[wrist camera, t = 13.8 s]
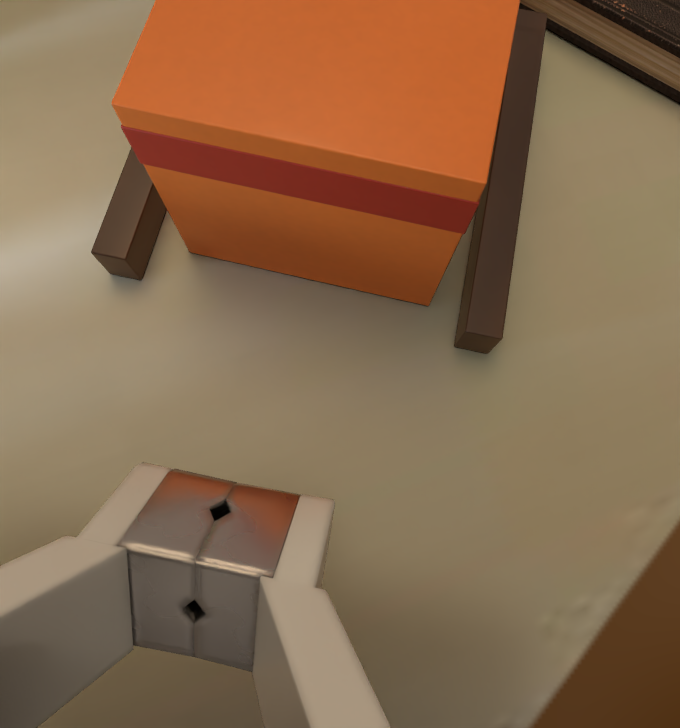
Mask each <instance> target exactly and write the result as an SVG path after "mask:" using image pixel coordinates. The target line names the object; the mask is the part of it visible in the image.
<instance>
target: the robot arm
mask: <svg viewBox="0 0 680 728" xmlns="http://www.w3.org/2000/svg"><path fill="white" fill-rule="evenodd" d="M334 506H335V502H334V500H333V499H327V498H321V497H316V496H310V495H304V494H302V495H300V494H295V493H290V492H285V491H279V490H274V489H269V488H264V487H258V486H253V485H248V484H242V483H237V482H233V481H228V480H224V479H219V478H215V477H210V476H206V475H201V474H197V473H192V472H188V471H183V470H179V469H171V468H167V467H162V466H158V465H153V464H149V463H144V462H142V463H140V464H138V465H136V466H135V467H133V469H132V470H131V471H130V472H129V473H128V475H127V476H126V477H125V478H124V480H123V481H122V482H121V483H120V484H119V486H118V487H117V488H116V489H115V491H114V492H113V493H112V494H111V495H110V497H109V498H108V499H107V500H106V502H105V503H104V504H103V505H102V506H101V508H100V509H99V510H98V511H97V512H96V514H95V515H94V516H93V517H92V519H91V520H90V521H89V522H88V523H87V525H86V526H85V527H84V528H83V530H82V531H81V532H80V533H79V534H78V536H77V537H72V536H66V535H65V536H63V537H61V538H59V539H57V540H55V541H52V542H50V543H48V544H46V545H44V546H42V547H39V548H37V549H35V550H33V551H31V552H29V553H26V554H24V555H22V556H20V557H18V558H16V559H13V560H11V561H9V562H7V563H5V564H3V565H0V728H37V727H38V726H39V725H40V724H42V723H43V722H44V721H45V720H47V719H48V718H49V717H50V716H51V715H53V714H54V713H55V712H56V711H58V710H59V709H60V708H61V707H63V706H64V705H65V704H66V703H68V702H69V701H70V700H71V699H73V698H74V697H75V696H76V695H78V694H79V693H80V692H81V691H82V690H84V689H85V688H86V687H87V686H89V685H90V684H91V683H92V682H94V681H95V680H96V679H97V678H99V677H100V676H101V675H102V674H104V673H105V672H106V671H107V670H109V669H110V668H111V667H112V666H113V665H115V664H116V663H117V662H118V661H120V660H121V659H122V658H123V657H125V656H126V655H127V654H128V653H130V652H131V651H132V650H133V645H134V646H140V647H145V648H150V649H155V650H161V651H166V652H171V653H176V654H181V655H187V656H192V657H196V658H200V659H204V660H208V661H212V662H216V663H220V664H224V665H228V666H232V667H235V668H239V669H243V670H247V671H251V672H253V674H252V676H253V680H254V684H255V689H256V693H257V697H258V702H259V706H260V710H261V715H262V719H263V723H264V728H391V727H390V725H389V722H388V720H387V718H386V716H385V714H384V712H383V710H382V708H381V705H380V703H379V701H378V699H377V697H376V695H375V693H374V691H373V688H372V686H371V684H370V682H369V680H368V678H367V676H366V674H365V671H364V669H363V667H362V665H361V663H360V661H359V659H358V657H357V654H356V652H355V650H354V648H353V646H352V644H351V642H350V640H349V637H348V635H347V633H346V631H345V629H344V627H343V625H342V623H341V620H340V618H339V616H338V614H337V612H336V610H335V608H334V606H333V603H332V601H331V599H330V597H329V595H328V593H327V591H326V590H324V589H321V586H322V580H323V574H324V568H325V563H326V557H327V550H328V544H329V538H330V532H331V526H332V520H333V513H334Z"/></svg>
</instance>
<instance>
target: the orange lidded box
mask: <svg viewBox="0 0 680 728" xmlns="http://www.w3.org/2000/svg"><path fill="white" fill-rule="evenodd" d="M519 4H520V0H156V1H155V3H154V6H153V8H152V10H151V13H150V15H149V17H148V20H147V22H146V24H145V27H144V29H143V31H142V33H141V36H140V38H139V40H138V43H137V45H136V47H135V50H134V52H133V54H132V57H131V59H130V61H129V63H128V66H127V68H126V70H125V73H124V75H123V77H122V80H121V82H120V84H119V87H118V89H117V91H116V94H115V96H114V98H113V100H112V106H113V108H114V110H115V112H116V114H117V116H118V117H119V119H120V121H121V123H122V125H121V128H122V130H123V132H124V134H125V136H126V138H127V139H128V141H129V143H130V145H131V147H132V149H133V151H134V152H135V154H136V156H137V158H138V160H139V162H140V163H141V164H143V165H144V167H145V169H146V170H147V172H148V174H149V176H150V178H151V180H152V182H153V184H154V186H155V187H156V189H157V191H158V193H159V195H160V197H161V199H162V201H163V203H164V205H165V206H166V208H167V210H168V212H169V214H170V216H171V218H172V220H173V222H174V223H175V225H176V227H177V229H178V231H179V233H180V235H181V237H182V239H183V240H184V242H185V244H186V246H187V248H188V250H189V252H191V253H196V254H200V255H204V256H209V257H213V258H218V259H222V260H227V261H231V262H236V263H240V264H244V265H249V266H253V267H258V268H262V269H267V270H271V271H275V272H280V273H284V274H289V275H293V276H298V277H302V278H306V279H311V280H315V281H320V282H324V283H329V284H333V285H338V286H342V287H346V288H351V289H355V290H360V291H364V292H369V293H373V294H377V295H382V296H386V297H391V298H395V299H400V300H404V301H409V302H413V303H417V304H422V305H426V306H429V304H430V302H431V300H432V298H433V296H434V294H435V292H436V289H437V287H438V285H439V283H440V281H441V279H442V277H443V275H444V273H445V270H446V268H447V266H448V264H449V262H450V260H451V258H452V256H453V254H454V251H455V249H456V247H457V245H458V243H459V241H460V239H461V237H462V235H463V234H465V233H466V230H467V228H468V226H469V224H470V222H471V220H472V218H473V216H474V214H475V212H476V210H477V208H478V205H479V203H480V198H481V194H482V192H483V190H484V188H485V186H486V184H487V179H488V173H489V168H490V162H491V157H492V152H493V146H494V141H495V135H496V130H497V124H498V119H499V113H500V108H501V103H502V97H503V92H504V86H505V81H506V75H507V70H508V64H509V59H510V53H511V48H512V43H513V37H514V32H515V26H516V21H517V15H518V10H519Z"/></svg>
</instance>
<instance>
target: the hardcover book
mask: <svg viewBox="0 0 680 728" xmlns="http://www.w3.org/2000/svg"><path fill="white" fill-rule="evenodd" d="M519 9H524V10H529V11H535V12H540V13H545V14H547V22H546V28H547V29H549V30H551V31H553V32H554V33H556V34H558V35H560V36H561V37H563V38H565V39H567V40H569V41H570V42H572V43H574V44H576V45H578V46H579V47H581V48H583V49H585V50H586V51H588V52H590V53H592V54H594V55H595V56H597V57H599V58H601V59H602V60H604V61H606V62H608V63H610V64H611V65H613V66H615V67H617V68H619V69H620V70H622V71H624V72H626V73H627V74H629V75H631V76H633V77H635V78H636V79H638V80H640V81H642V82H644V83H645V84H647V85H649V86H651V87H652V88H654V89H656V90H658V91H660V92H661V93H663V94H665V95H667V96H668V97H670V98H672V99H674V100H676V101H677V102H679V103H680V0H520V4H519Z"/></svg>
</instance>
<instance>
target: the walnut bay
mask: <svg viewBox="0 0 680 728" xmlns="http://www.w3.org/2000/svg"><path fill="white" fill-rule="evenodd" d="M546 22H547V14H545V13H540V12H535V11H529V10H524V9H519V10H518V15H517V21H516V26H515V32H514V37H513V43H512V48H511V53H510V59H509V64H508V70H507V75H506V81H505V86H504V92H503V97H502V103H501V108H500V113H499V119H498V124H497V130H496V135H495V141H494V146H493V152H492V157H491V162H490V168H489V173H488V179H487V184H486V186H485V188H484V190H483V192H482V194H481V198H480V203H479V205H478V208H477V211H476V217H475V223H474V229H473V236H472V242H471V248H470V254H469V260H468V266H467V272H466V278H465V284H464V290H463V296H462V302H461V308H460V314H459V320H458V326H457V332H456V338H455V344H454V346H455V347H459V348H463V349H468V350H473V351H477V352H482V353H489V352H490V351H491V350H492V349H493V348H494V347H495V346H496V345H497V344H498V343H499V342H500V341H501V340H502V337H503V330H504V323H505V316H506V309H507V301H508V294H509V287H510V280H511V273H512V266H513V258H514V251H515V244H516V237H517V230H518V223H519V216H520V208H521V201H522V194H523V187H524V180H525V173H526V165H527V158H528V151H529V144H530V137H531V130H532V123H533V115H534V108H535V101H536V94H537V87H538V80H539V72H540V65H541V58H542V51H543V44H544V37H545V29H546ZM166 209H167V208H166V206H165V205H164V203H163V201H162V199H161V197H160V195H159V193H158V191H157V189H156V187H155V186H154V184H153V182H152V180H151V178H150V176H149V174H148V172H147V170H146V169H145V167H144V165H143V164H141V163H140V162H139V160H138V158H137V156H136V154H135V152H134V151H133V149H132V147H131V150H130V153H129V155H128V158H127V160H126V163H125V166H124V168H123V171H122V173H121V176H120V178H119V181H118V184H117V186H116V189H115V191H114V194H113V197H112V199H111V202H110V204H109V207H108V209H107V212H106V215H105V217H104V220H103V222H102V225H101V228H100V230H99V233H98V235H97V238H96V241H95V243H94V246H93V248H92V251H91V253H92V254H93V255H94V256H95V258H96V259H97V260H98V261H99V262H100V263H101V264H102V265H103V266H104V268H105V269H106V270H107V271H108V272H109V273H110V274H115V275H119V276H124V277H129V278H133V279H138V280H141V279H142V277H143V274H144V271H145V269H146V266H147V263H148V260H149V257H150V254H151V251H152V249H153V246H154V243H155V240H156V237H157V234H158V232H159V229H160V226H161V223H162V220H163V217H164V214H165V212H166Z"/></svg>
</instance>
